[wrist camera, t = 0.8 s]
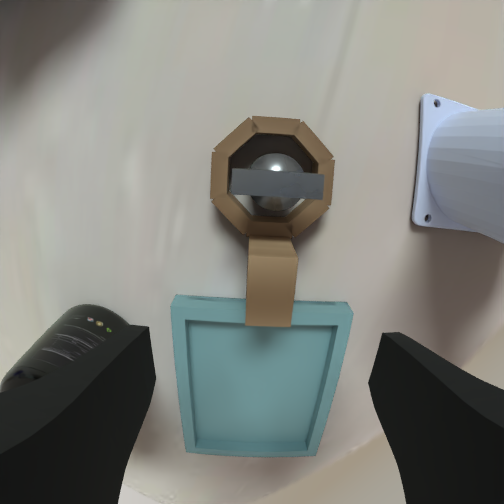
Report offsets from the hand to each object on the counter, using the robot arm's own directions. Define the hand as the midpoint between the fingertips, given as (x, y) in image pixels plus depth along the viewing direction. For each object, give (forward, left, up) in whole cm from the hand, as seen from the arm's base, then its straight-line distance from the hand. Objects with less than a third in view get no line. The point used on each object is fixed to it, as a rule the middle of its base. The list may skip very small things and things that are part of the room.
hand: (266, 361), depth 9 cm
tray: (0, +9, -9) cm, 13 cm away
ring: (0, -3, -9) cm, 10 cm away
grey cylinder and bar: (0, -5, -9) cm, 11 cm away
